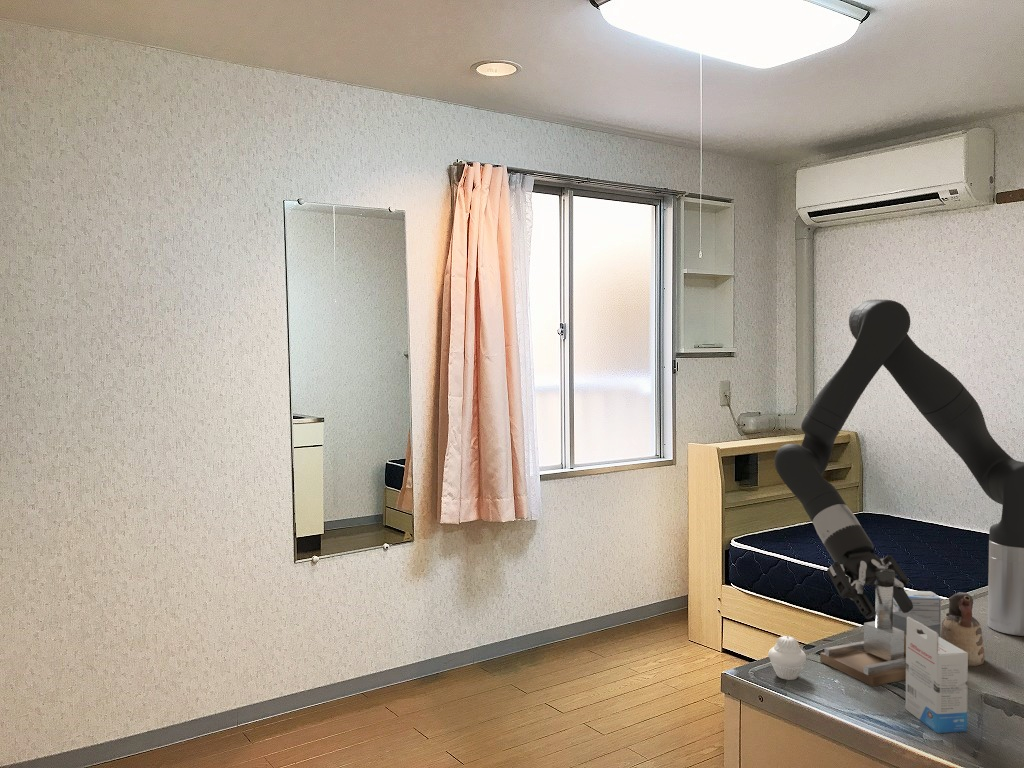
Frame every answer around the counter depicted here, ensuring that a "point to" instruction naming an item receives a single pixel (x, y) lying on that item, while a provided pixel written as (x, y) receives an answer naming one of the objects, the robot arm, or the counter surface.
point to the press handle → (884, 621)
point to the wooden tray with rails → (857, 661)
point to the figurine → (963, 628)
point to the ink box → (935, 680)
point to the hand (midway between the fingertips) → (890, 613)
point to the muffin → (787, 658)
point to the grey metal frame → (898, 623)
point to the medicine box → (923, 605)
